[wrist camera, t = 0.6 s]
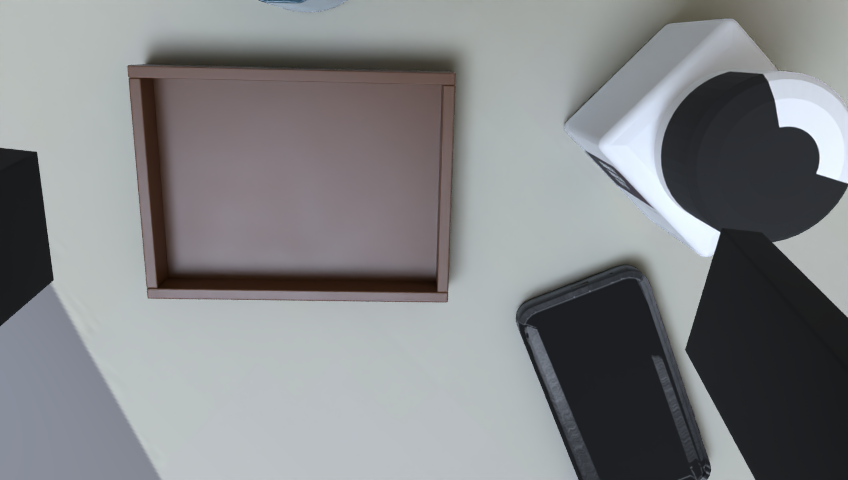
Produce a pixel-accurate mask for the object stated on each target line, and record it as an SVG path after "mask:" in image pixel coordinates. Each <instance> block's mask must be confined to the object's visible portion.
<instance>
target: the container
mask: <svg viewBox="0 0 848 480" xmlns="http://www.w3.org/2000/svg"><path fill="white" fill-rule="evenodd" d="M564 129H565V131H566V133H567V134H568V135H569V136H570V137H571V138H572V139H573V140H574V141H575V142H576V143H577V144H578V145H579V146H580V147H581V148H582V149H583V150H584V151H585V152H586V154H587V155H588V156H589V157H590V158H591V159H592V160H593V161H594V162H595V163H596V164H597V165H598V166H599V167H600V168H601V169H602V170H603V171H604V172H605V173H606V174H607V176H608V177H609V178H610V179H611V180H612V181H613V182H614V183H615V184H616V185H617V186H618V187H619V188H620V189H621V190H622V191H623V192H624V193H625V194H626V195H627V197H628V198H629V199H630V200H631V201H632V202H633V203H634V204H635V205H636V206H637V207H638V208H639V209H640V210H641V211H642V212H643V213H644V214H645V215H646V216H647V217H648V219H650V220H651V221H652V222H654V223H655V224H657V225H658V226H660V227H661V228H662V229H664V230H665V231H667V232H668V233H669V234H671V235H672V236H674V237H675V238H676V239H678V240H679V241H681V242H682V243H684V244H685V245H686V246H688V247H689V248H691V249H692V250H693V251H695V252H696V253H698V254H699V255H701V256H703V257H709V256H711V255H713V254H714V252H715V249H716V246H717V242H718V239H719V236H720V232H721V229H722V228H728V229H737V230H746V231H755V232H762V233H763V234H764V235H765V236H766V237H767V238H768V239H769V240H770V241H771V242H776V241H780V240H785V239H788V238H790V237H793V236H796V235H798V234H800V233H802V232H804V231H806V230H808V229H809V228H811V227H812V226H814V225H815V224H817V223H818V222H819V221H821V220H822V219H823V218H824V217H825V216H826V215H827V214H828V213H829V212H830V211H831V210H832V209H833V208H834V207H835V206H836V204H837V203H838V202H839V200H840V199H841V197H842V196H843V194H844V193H845V191H846V189H847V187H848V107H847V105H846V103H845V102H844V101H843V99H842V98H841V97H840V95H839V94H838V93H836V92H835V91H834V90H833V89H832V88H831V87H830V86H828V85H827V84H825V83H824V82H822V81H821V80H818V79H816V78H814V77H812V76H809V75H805V74H802V73H797V72H788V71H778V70H777V68H776V67H775V66H774V65H773V64H772V62H771V61H770V60H769V59H768V58H767V57H766V55H765V54H764V53H763V52H762V51H761V49H760V48H759V47H758V46H757V45H756V44H755V42H754V41H753V40H752V39H751V38H750V36H749V35H748V34H747V33H746V32H745V30H744V29H743V28H742V27H741V26H740V25H739V23H738V22H737V21H735V20H734V19H717V20H705V21H694V22H682V23H671V24H667V25H665V26H664V27H663V28H662V29H661V30H660V31H659V32H658V33H657V34H656V35H655V36H654V37H653V38H652V39H651V40H650V41H649V42H648V43H647V44H646V45H645V46H644V47H643V48H641V49H640V50H639V51H638V52H637V53H636V54H635V55H634V56H633V57H632V58H631V59H630V60H629V61H628V62H627V63H626V64H625V65H624V66H623V67H622V68H621V69H620V70H619V71H618V72H617V73H616V74H615V75H614V76H613V77H612V78H611V79H610V80H609V81H608V82H607V83H606V84H605V85H604V86H603V87H602V88H601V89H600V90H599V91H598V92H596V93H595V94H594V95H593V96H592V97H591V98H590V99H589V100H588V101H587V102H586V103H585V104H584V105H583V106H582V107H581V108H580V109H579V110H578V111H577V112H576V113H575V114H574V115H573V116H572V117H571V118H570V119H569V120H568V121H567V122H566V124H565V128H564Z"/></svg>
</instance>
